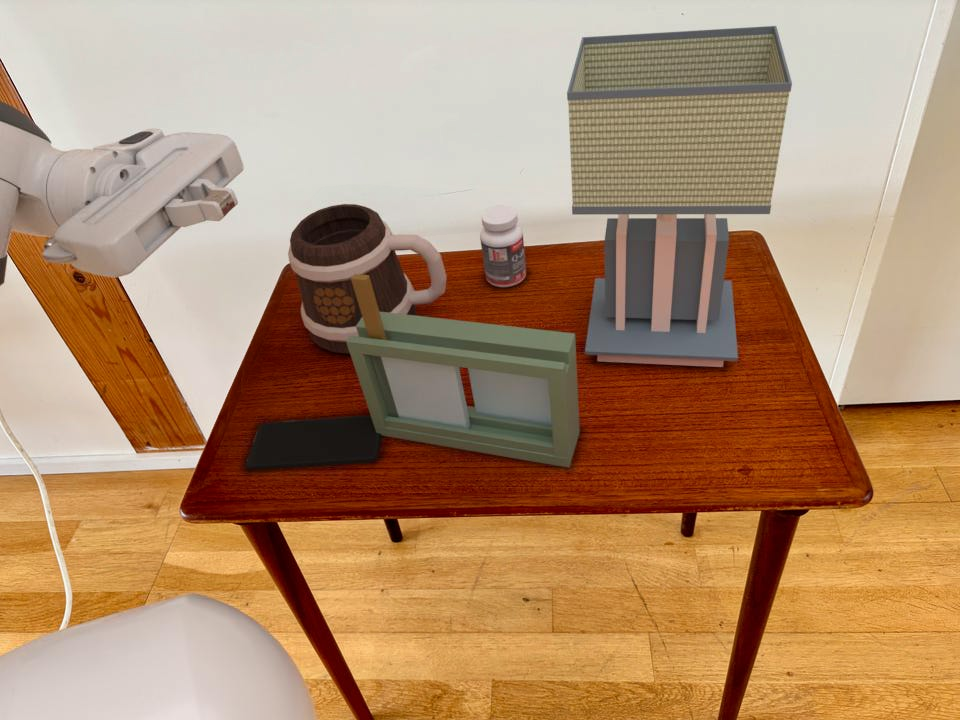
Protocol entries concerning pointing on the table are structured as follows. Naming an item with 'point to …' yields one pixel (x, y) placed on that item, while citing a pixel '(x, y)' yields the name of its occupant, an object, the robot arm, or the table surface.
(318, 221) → the mug
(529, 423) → the window frame
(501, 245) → the pill bottle
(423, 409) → the window pane
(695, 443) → the table surface
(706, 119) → the desk lamp
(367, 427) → the smartphone
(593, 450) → the table surface
